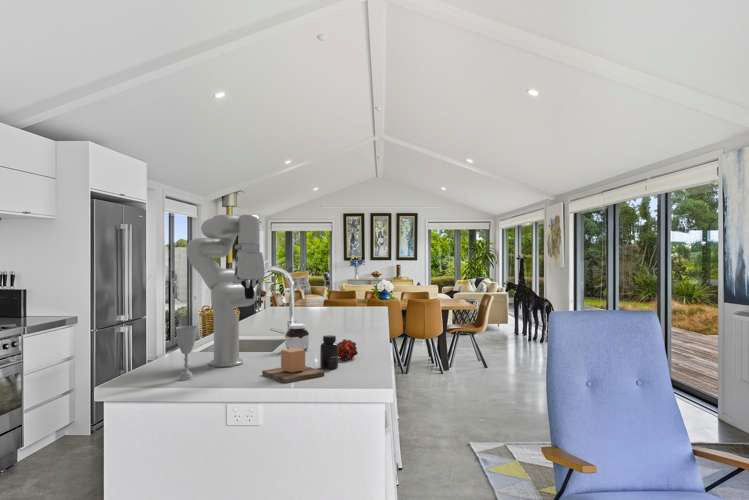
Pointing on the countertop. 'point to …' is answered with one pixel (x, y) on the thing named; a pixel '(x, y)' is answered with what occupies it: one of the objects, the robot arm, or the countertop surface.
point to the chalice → (186, 347)
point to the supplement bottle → (329, 353)
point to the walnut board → (292, 374)
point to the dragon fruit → (347, 349)
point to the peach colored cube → (293, 359)
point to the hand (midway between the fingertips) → (249, 298)
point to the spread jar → (297, 337)
